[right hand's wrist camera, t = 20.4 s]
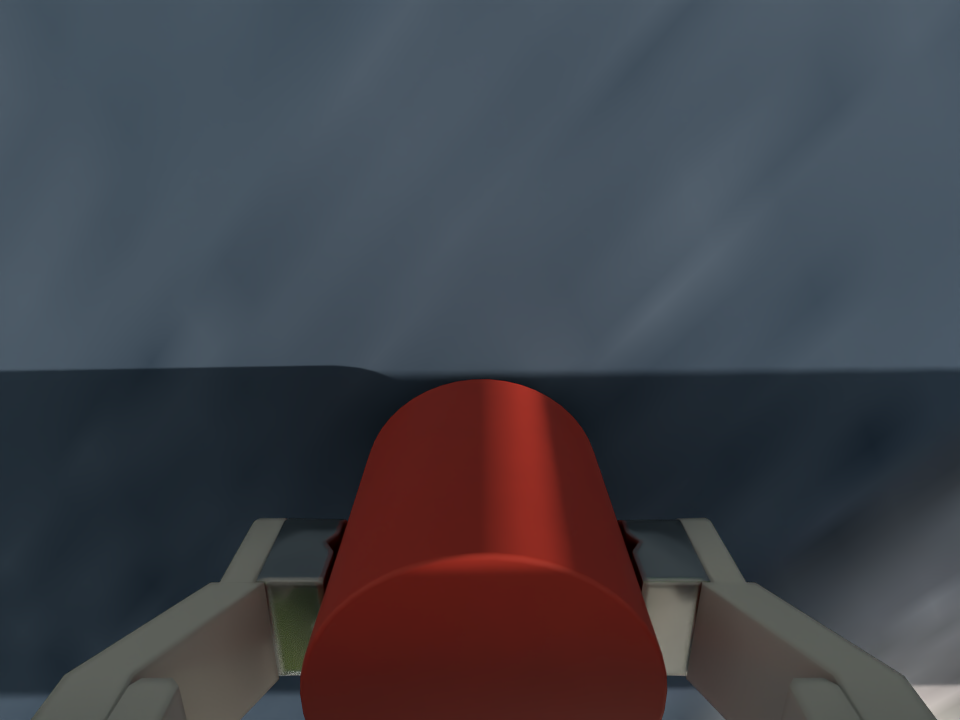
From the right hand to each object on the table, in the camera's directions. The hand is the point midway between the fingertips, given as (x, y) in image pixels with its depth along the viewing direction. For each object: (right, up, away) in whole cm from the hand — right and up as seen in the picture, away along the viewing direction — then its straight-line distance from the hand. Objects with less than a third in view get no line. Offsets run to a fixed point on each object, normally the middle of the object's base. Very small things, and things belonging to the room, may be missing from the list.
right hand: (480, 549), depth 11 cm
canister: (0, +1, +2) cm, 2 cm away
